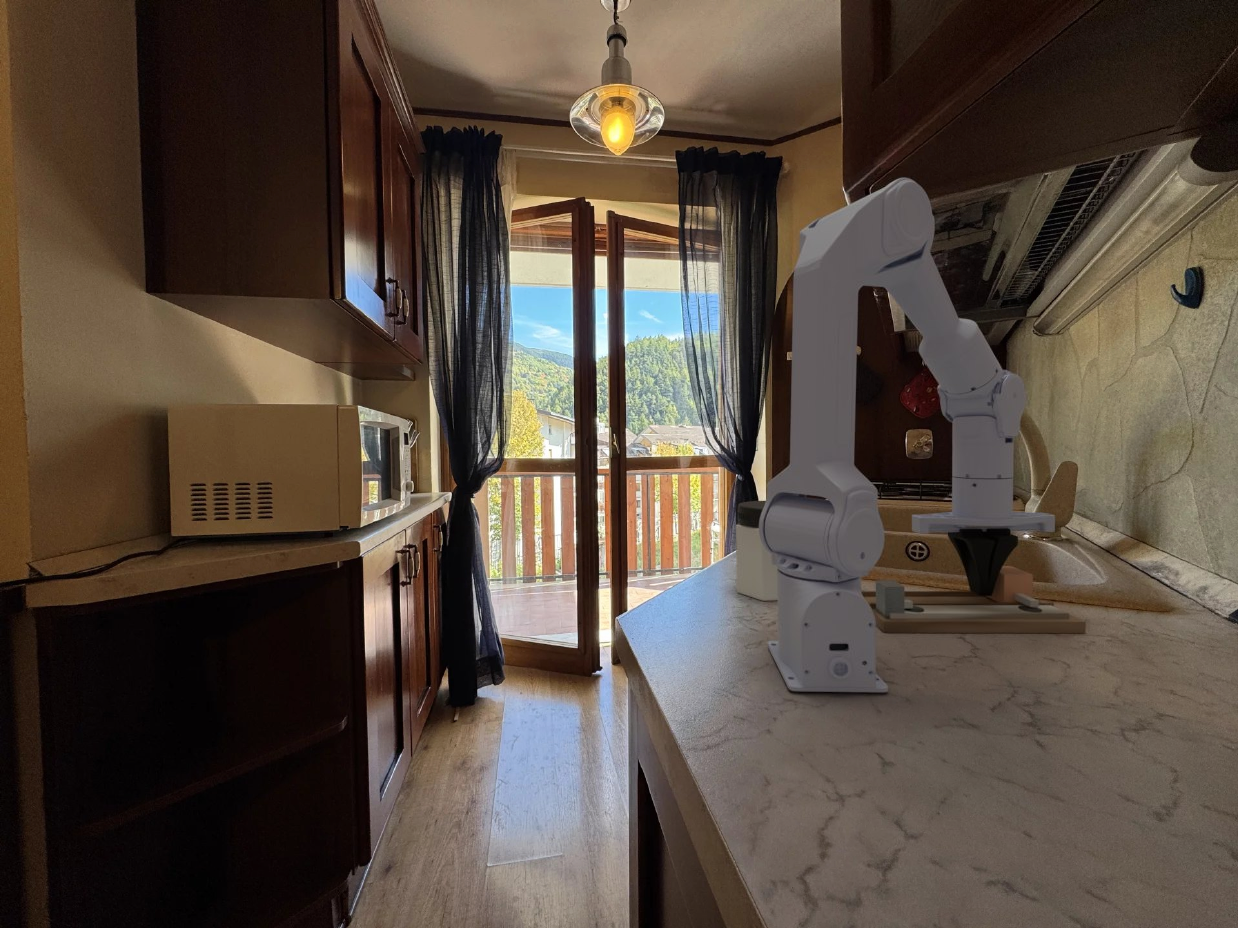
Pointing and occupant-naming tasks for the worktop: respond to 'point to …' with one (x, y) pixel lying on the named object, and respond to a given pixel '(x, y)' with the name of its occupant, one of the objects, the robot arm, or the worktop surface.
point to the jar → (754, 555)
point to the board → (972, 615)
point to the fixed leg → (890, 598)
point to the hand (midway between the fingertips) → (980, 593)
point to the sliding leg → (1014, 587)
